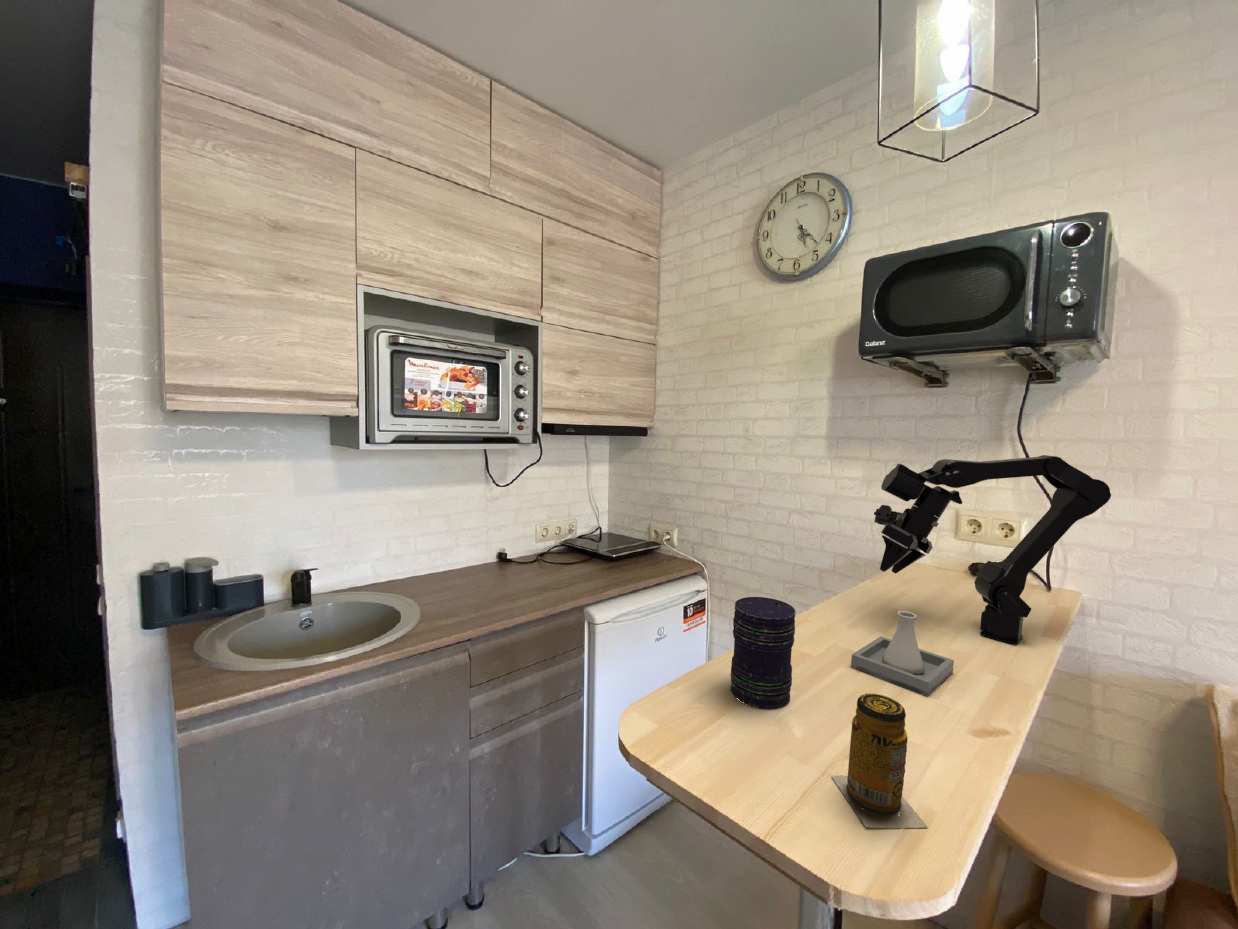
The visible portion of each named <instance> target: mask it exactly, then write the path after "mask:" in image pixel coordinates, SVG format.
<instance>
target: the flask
mask: <svg viewBox="0 0 1238 929" xmlns="http://www.w3.org/2000/svg"><path fill="white" fill-rule="evenodd" d="M917 616H918V615H917V614H916V613H913V612H911V611H906V610H897V617H898V622H897V627H896V630H895V632H894V634H893V636H892V638H891V642H890V644H889V646H888V647H887V649H886V651H885V653H884V655H883V658H882V663H884V664H886V665H889V666H891V667H894V668H897V669H900V670H903V671H905V672H908V673H911V674H923V673H924V664H923V661H922V658H921V654H920V651H919V649H920V647H919V645H918V641H917V638H916V632H915V631H916V630H915V621H916V620H917Z"/></svg>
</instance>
